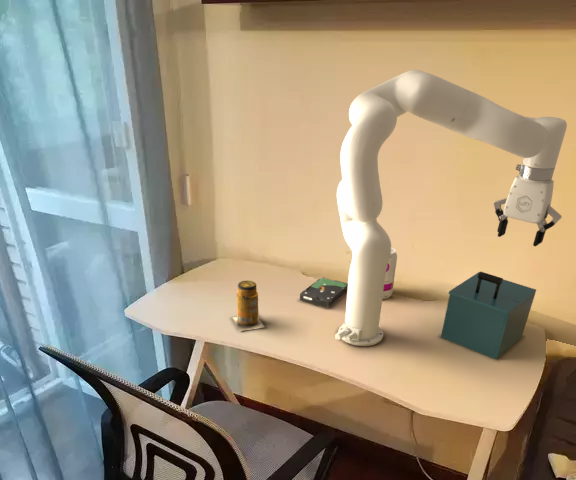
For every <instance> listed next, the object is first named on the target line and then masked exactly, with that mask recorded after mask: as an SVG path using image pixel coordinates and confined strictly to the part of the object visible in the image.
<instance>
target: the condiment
mask: <svg viewBox="0 0 576 480" xmlns="http://www.w3.org/2000/svg"><path fill="white" fill-rule="evenodd" d="M258 293H259V292H258V290H257V283H256V282H255V281H252V280H241V281H239V282H238V283H237V292H236V310H237V311H236V312H237V314H236V315H237V316H233V317H232V319H233V321H234V323H235V324H236V326H237V328H238V329H239V331H250V330H256V329H263V328H265V325H264V323H263V322H262V321H261V320H260V317H259V294H258Z"/></svg>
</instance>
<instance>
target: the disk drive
mask: <svg viewBox="0 0 576 480" xmlns="http://www.w3.org/2000/svg"><path fill="white" fill-rule="evenodd" d="M347 290H348V282H343V281H340V280H334V279H329V278H326V277H324V276H323V277H320V278H319V279H317V280H316V281H314V282H313V283H312V284H310V285H309V286H308V287H307V288H305V289H304V290H303V291H301V292H300V293H299V301H302V302H304V303H308V304H311V305H315V306H318V307H321V308H326V309H329V308H330V307H332V306H333V305H335V303H336V302H337V301H339V300H340V299H341V298H342V297H343V296H345V294H347Z"/></svg>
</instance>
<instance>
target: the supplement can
mask: <svg viewBox="0 0 576 480" xmlns="http://www.w3.org/2000/svg"><path fill="white" fill-rule="evenodd" d="M397 261H398V254H397V250H396V248H395V247H392V246H391V254H390V258H389V261H388V265H387V269H386V274H385V280H384V289H383V297H382V300H386V299H389V298H390V297H391V296H392V295H393V290H394V283H395V275H396V268H397Z"/></svg>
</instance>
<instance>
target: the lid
mask: <svg viewBox="0 0 576 480" xmlns="http://www.w3.org/2000/svg"><path fill="white" fill-rule="evenodd" d="M535 292H536V293H537V289H536V288H532V287H530V286H527V285H523V284H520V283H517V282H513V281H510V280H507V279H504V278H503V277H500V276H497V275H495V274H494V275H493V274H490V273H487V272H483V271H478V272H477V273H475V274H474V275H472V276H471V277H469V278H467V279H466V280H463V282H461V283H459V284H458V285H456V286H455V287H453V288H452V289H451V290H449V291H448V295H449V296H450V295H453V296H456V297H459V298H462V299H465V300H468V301H471V302H474V303H476V304H479V305H482V306H485V307H488V308H491V309H494V310H497V311H500V312H502V313H505V314H509V313H510V312H512V311H513V310H514V309H515V308H517V307H518V306H519V305H520V304H522V303H523V302H524V301H525V300H527V299H528V298H529V297H530V296H531V295H533V294H534V293H535ZM536 293H535V294H536Z"/></svg>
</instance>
